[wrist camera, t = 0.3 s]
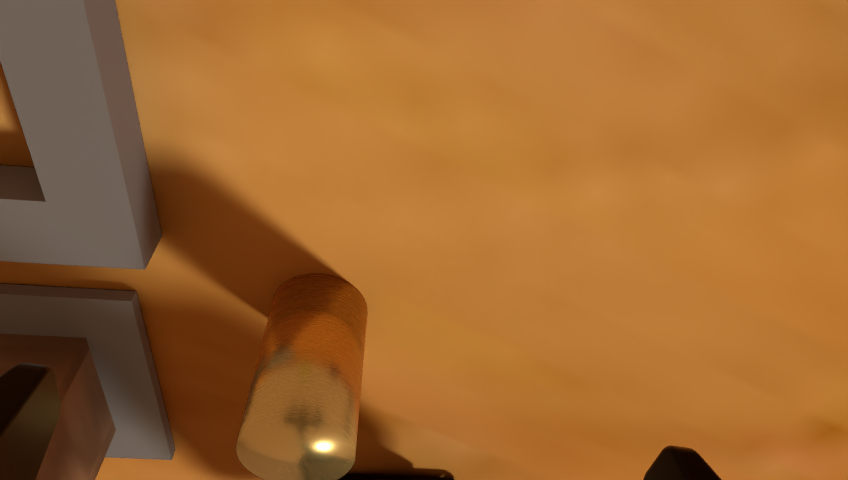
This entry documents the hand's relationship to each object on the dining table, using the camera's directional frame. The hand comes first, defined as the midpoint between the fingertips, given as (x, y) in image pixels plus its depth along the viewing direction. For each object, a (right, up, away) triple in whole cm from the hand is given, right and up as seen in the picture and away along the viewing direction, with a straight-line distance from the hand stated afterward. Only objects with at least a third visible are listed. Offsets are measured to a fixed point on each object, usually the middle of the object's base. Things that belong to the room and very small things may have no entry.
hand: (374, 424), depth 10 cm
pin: (-4, 0, +18) cm, 18 cm away
